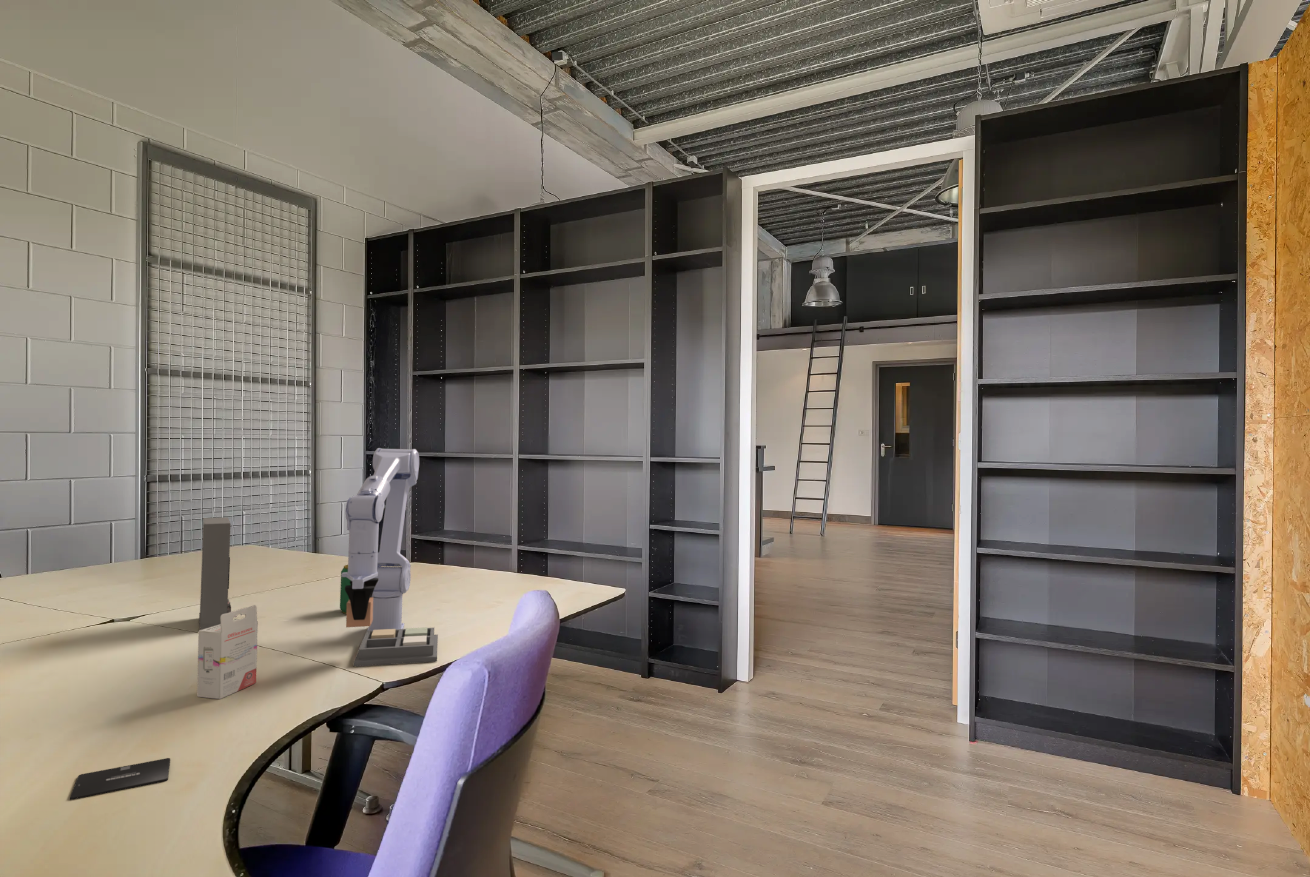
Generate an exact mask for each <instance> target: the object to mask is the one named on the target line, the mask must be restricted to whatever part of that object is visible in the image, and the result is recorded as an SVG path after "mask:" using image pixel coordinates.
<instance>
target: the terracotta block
mask: <svg viewBox="0 0 1310 877" xmlns="http://www.w3.org/2000/svg"><path fill="white" fill-rule="evenodd" d="M345 615H346V620H345V628H359V627H360V628H362V627H363V628H365V627H369V626H370V625H371V623H372V621H373V597H371V598H370V599H369V603H368V608H367V613H366V617H365V619H364V620H354V618H353V614H352V608H351V603H350V600H349V601H348V602H347V614H345Z"/></svg>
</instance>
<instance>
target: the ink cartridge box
mask: <svg viewBox="0 0 1310 877" xmlns="http://www.w3.org/2000/svg"><path fill="white" fill-rule="evenodd" d="M257 609H258V607H257V605H256V604H253V605H250V606H247V607H243V608H240V609H236V610H231V612H229V613H226V614H222V615H221V616H220V621H221V624H219V625H216V626H213V627H209V628H206V629H203V630H200V629H199V630H198V631H197V632H198V645H197V646H198V647H197V683H196V684H197V688H196V689H197V690H196V691H197V692H196V693H197V694H196V696H197V697H198V698H206V699H208V698H209V699H216V700H220V699H223V698H225V697H228V696H230V695H232V694H235V693H236V692H239V691H241V690H244V689H246V688H248V687H250V686H252V685H254V684H256V683H257V669H258V668H257V666H258V665H257V662H258V632H259V630H258V625H259V622H258V613H257V612H258V610H257ZM239 615H241V616H242V615H243V616H244V617H242V618H239V619H238V618H236V617H238V616H239ZM234 618H236V619H234Z"/></svg>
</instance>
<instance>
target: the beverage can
mask: <svg viewBox="0 0 1310 877" xmlns="http://www.w3.org/2000/svg"><path fill="white" fill-rule="evenodd" d="M343 572H348V564H345V565H343V568H342V569H341V571H340V588H339V589H340V590H339V592H340V594H339V595H340V596H339V609H340V611H341V613H342V614H345V615H346V614H347V602H348V601H349V597H348V595H347V593H346V591H345V586H346V585H351V584H350V581H351V580H350V579H348V578H347V577H341V576H342V573H343Z"/></svg>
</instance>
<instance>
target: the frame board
mask: <svg viewBox="0 0 1310 877" xmlns="http://www.w3.org/2000/svg"><path fill="white" fill-rule="evenodd" d="M438 636H439V634H435V627H409V628H408V627H406V628H403V629H382V630H371V631H367V630H366V631H365V634H364V637H363V638H362V640H361V643H360V646H359V648H358V651H357V654H356V655H355V658H354V659H353V667H354V666H356V667H368V666H369V667H371V666H384V665H386V666H387V665H388V666H389V665H401V664H402V663H405V664H417V663H418V664H419V663H433V662H434V663H436V662H435V661H438V642H439V637H438Z"/></svg>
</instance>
